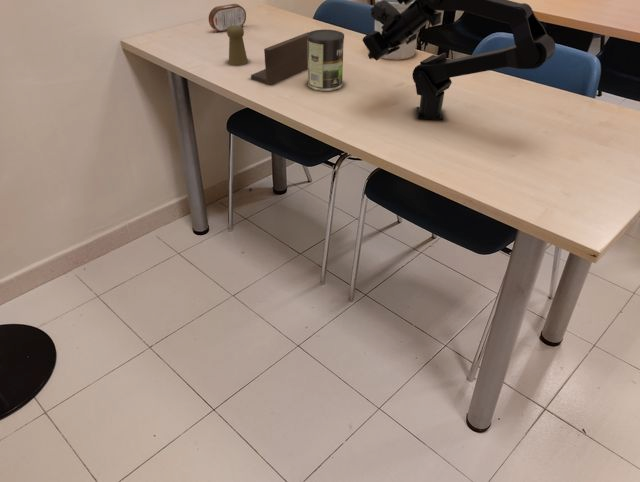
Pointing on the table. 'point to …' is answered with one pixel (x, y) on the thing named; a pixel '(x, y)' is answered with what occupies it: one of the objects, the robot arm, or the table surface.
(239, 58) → the olive green pawn
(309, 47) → the coffee can
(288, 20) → the table surface
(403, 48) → the utensil holder
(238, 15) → the tin
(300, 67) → the walnut bookend
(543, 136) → the table surface
